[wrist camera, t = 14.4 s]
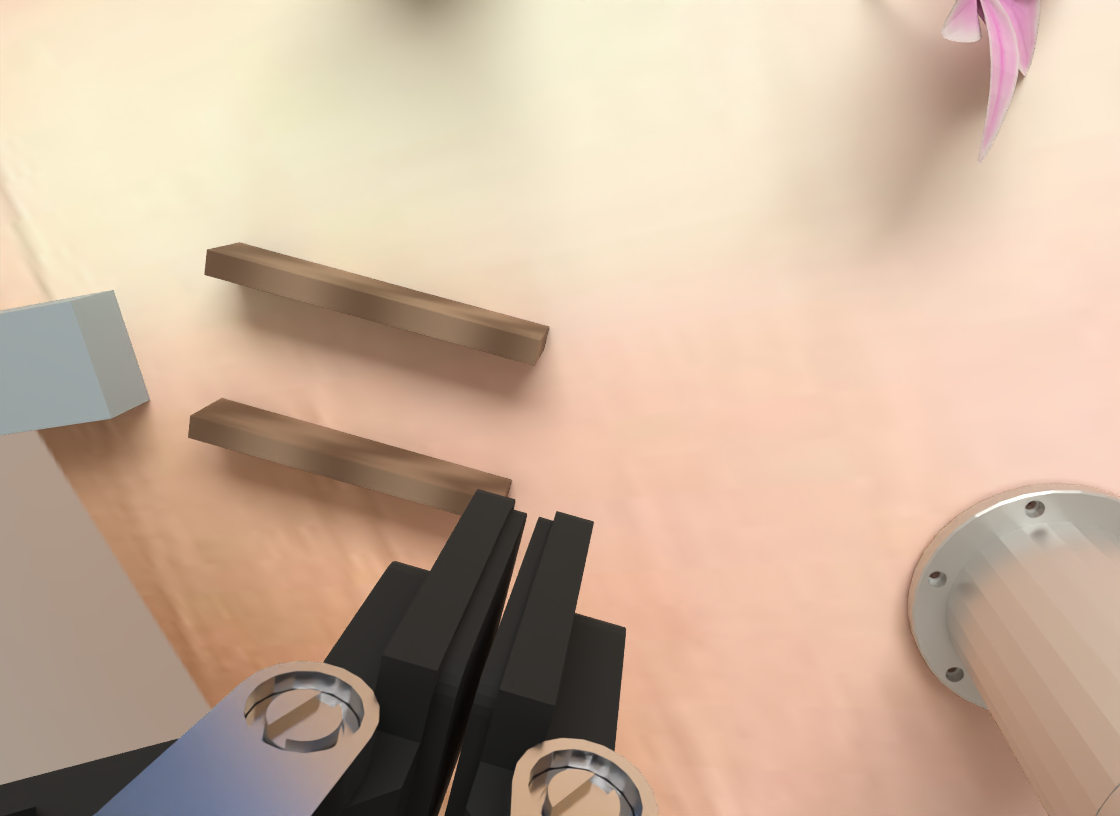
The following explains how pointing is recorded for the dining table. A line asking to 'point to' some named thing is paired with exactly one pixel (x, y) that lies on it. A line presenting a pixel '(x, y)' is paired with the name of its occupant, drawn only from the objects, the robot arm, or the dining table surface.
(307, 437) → the walnut chute
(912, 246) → the dining table surface
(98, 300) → the slate block
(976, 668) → the robot arm
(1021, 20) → the lily
